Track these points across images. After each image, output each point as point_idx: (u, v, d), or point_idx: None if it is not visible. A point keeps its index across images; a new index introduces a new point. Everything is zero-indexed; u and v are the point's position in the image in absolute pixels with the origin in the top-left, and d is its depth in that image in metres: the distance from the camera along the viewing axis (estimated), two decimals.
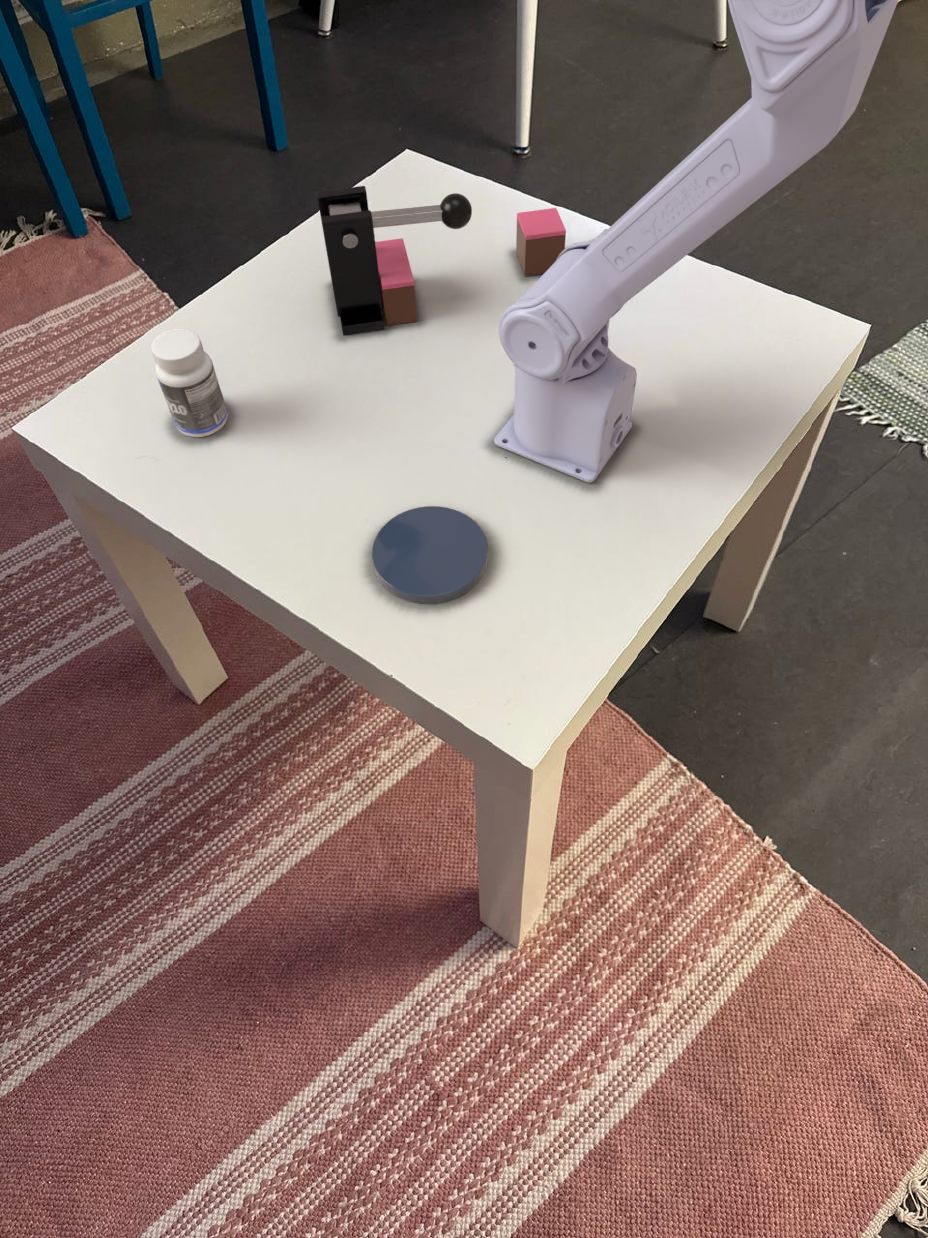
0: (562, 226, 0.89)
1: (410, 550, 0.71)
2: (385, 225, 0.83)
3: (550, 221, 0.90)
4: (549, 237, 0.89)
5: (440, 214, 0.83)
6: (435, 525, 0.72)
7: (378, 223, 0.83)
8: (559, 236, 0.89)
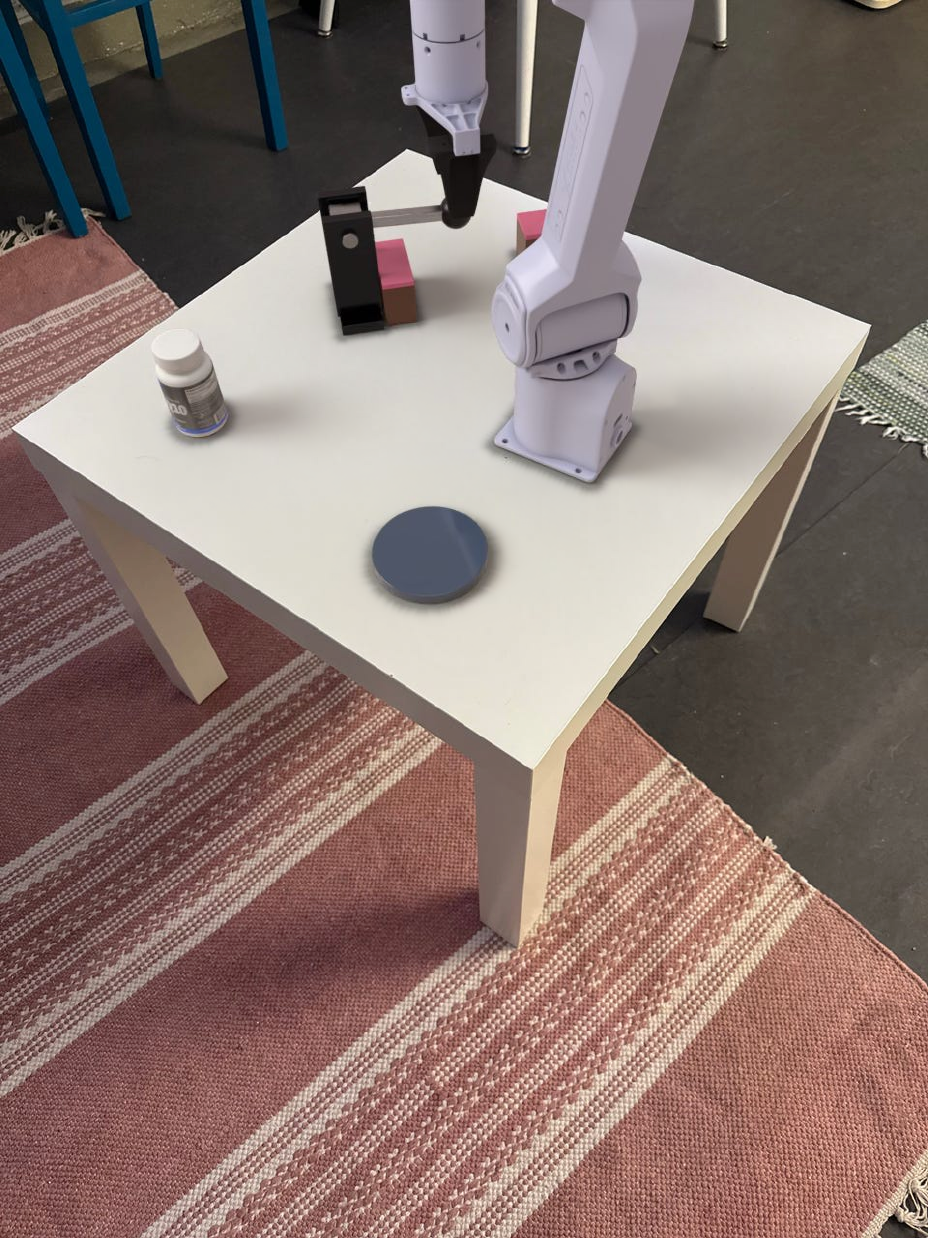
0: None
1: (410, 550, 0.71)
2: (385, 225, 0.83)
3: None
4: None
5: (440, 214, 0.83)
6: (435, 525, 0.72)
7: (378, 223, 0.83)
8: None
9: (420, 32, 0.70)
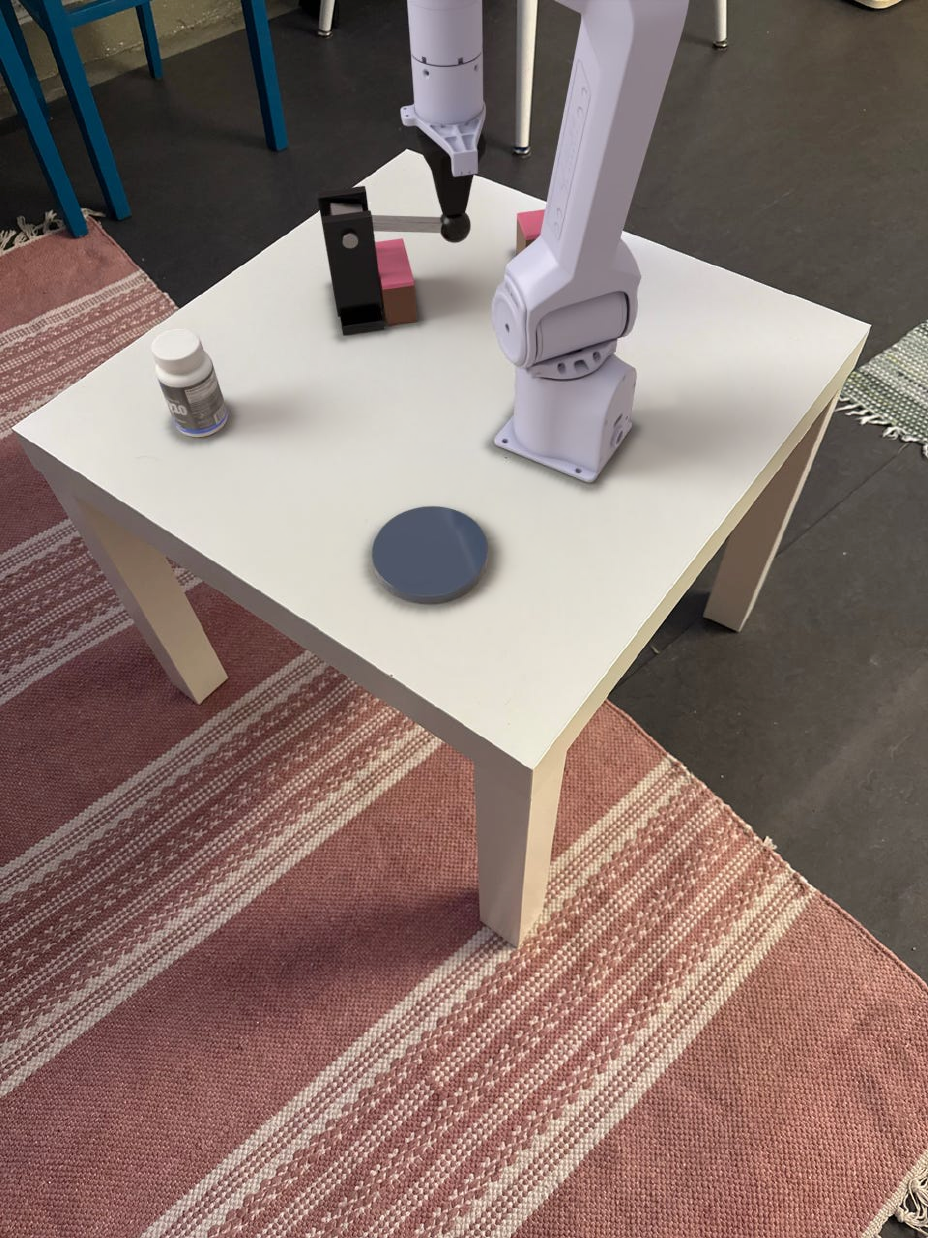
0: None
1: (410, 550, 0.71)
2: (384, 230, 0.83)
3: None
4: None
5: (440, 226, 0.84)
6: (435, 525, 0.72)
7: (378, 227, 0.83)
8: None
9: (419, 56, 0.71)
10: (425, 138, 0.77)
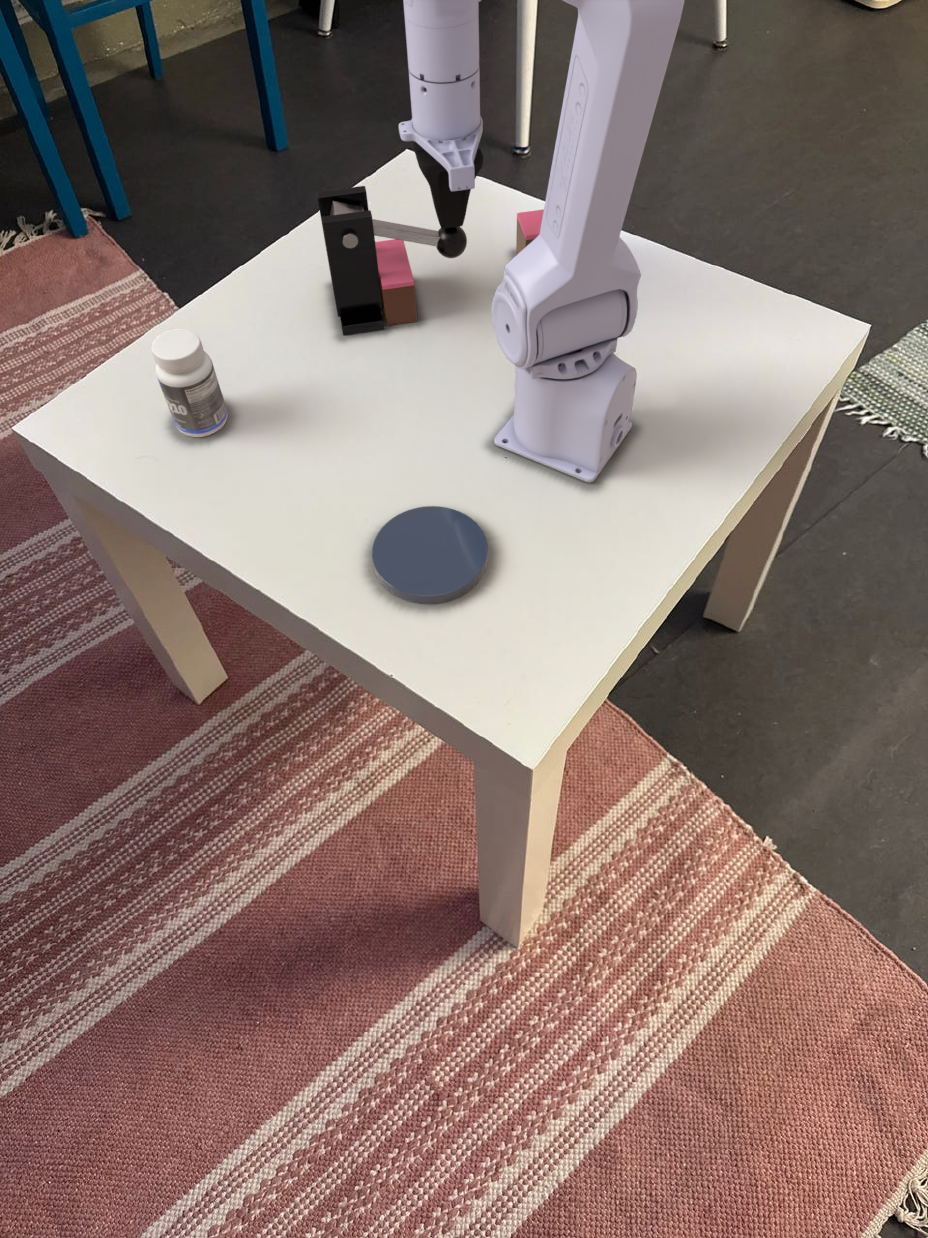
0: None
1: (410, 550, 0.71)
2: (383, 235, 0.84)
3: None
4: None
5: (437, 239, 0.85)
6: (435, 525, 0.72)
7: (377, 232, 0.83)
8: None
9: (417, 73, 0.72)
10: (423, 153, 0.78)
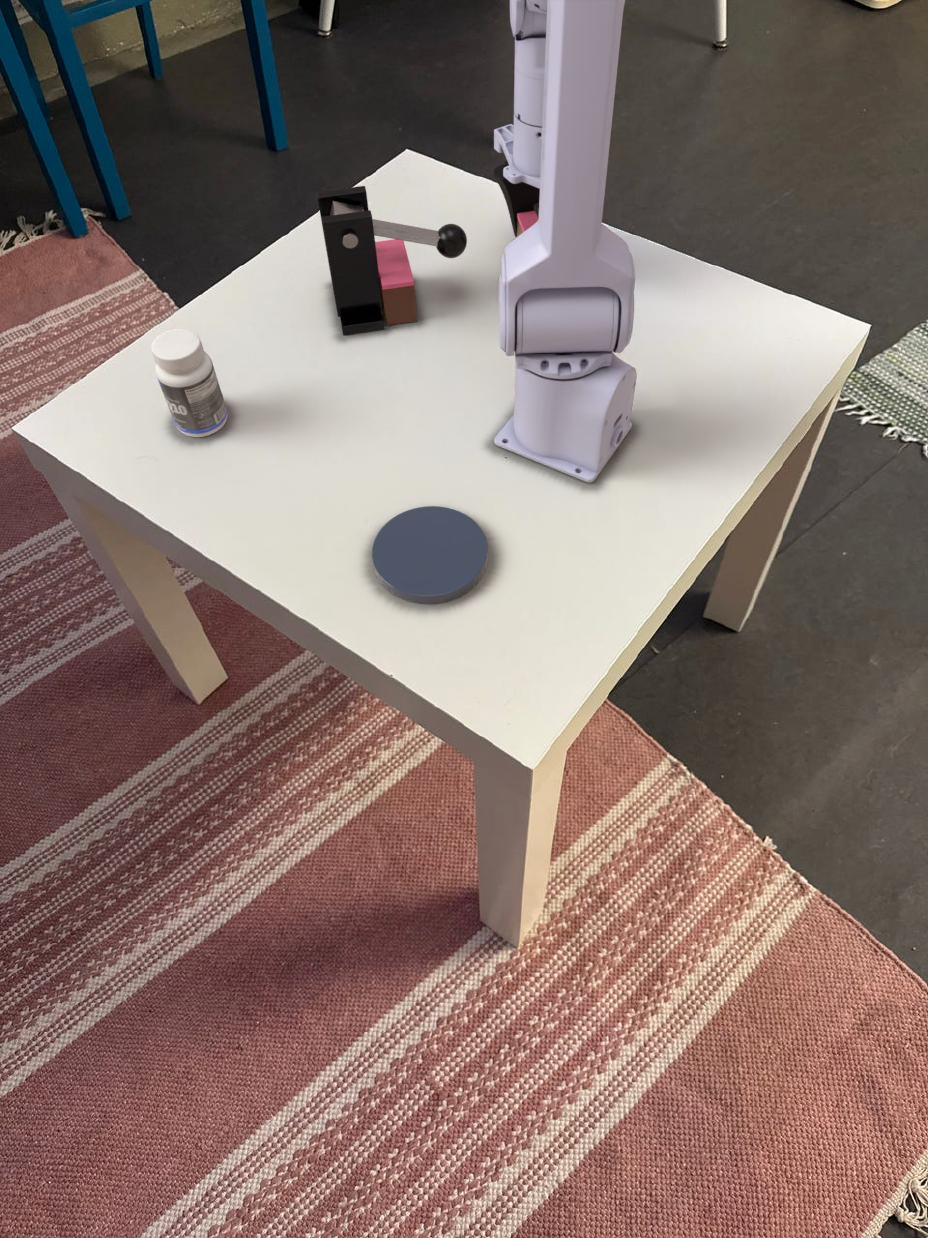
0: None
1: (410, 550, 0.71)
2: (383, 235, 0.84)
3: None
4: None
5: (437, 239, 0.85)
6: (435, 525, 0.72)
7: (377, 232, 0.83)
8: None
9: (516, 112, 0.80)
10: None
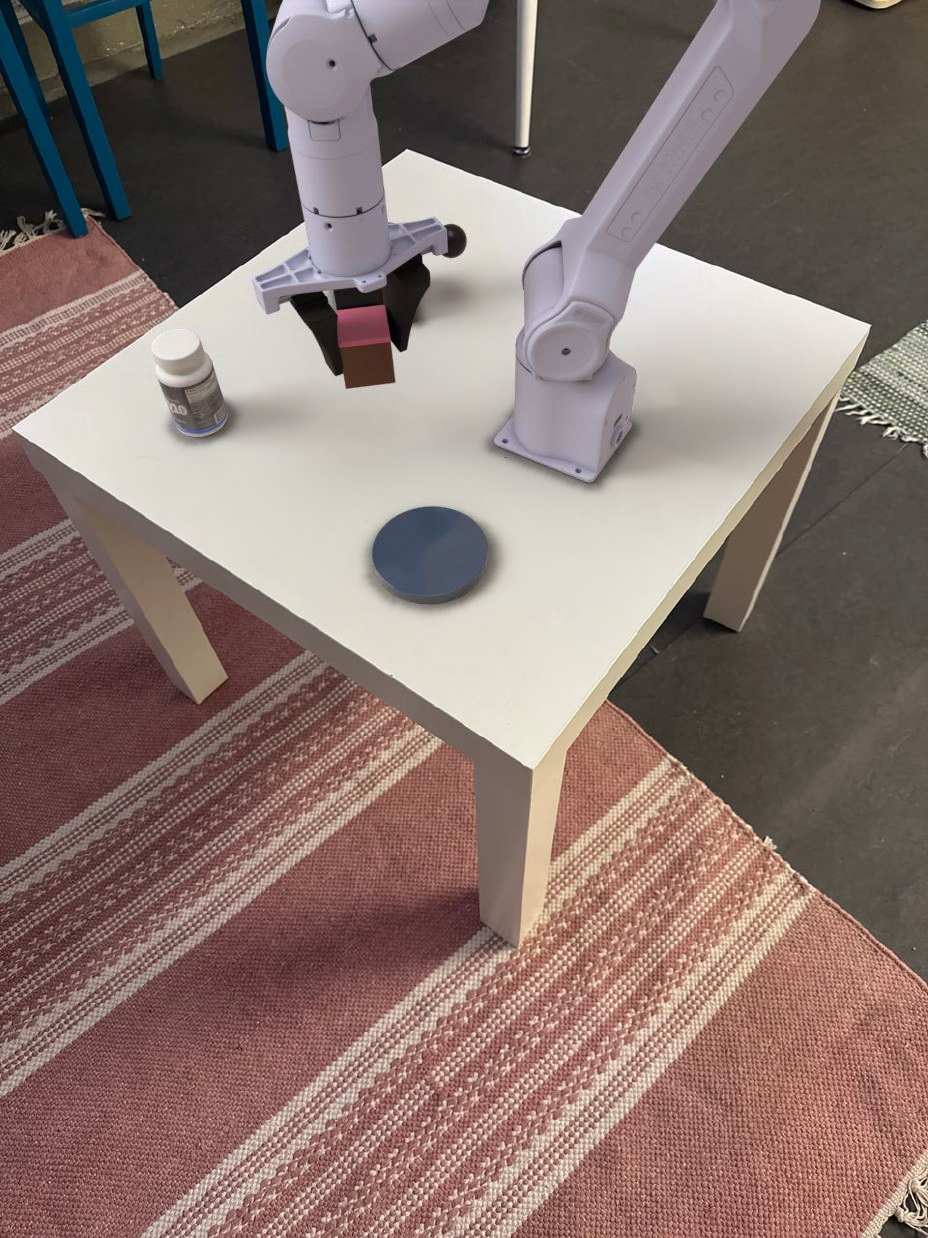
0: (377, 306, 0.72)
1: (410, 550, 0.71)
2: None
3: (364, 316, 0.71)
4: None
5: None
6: (435, 525, 0.72)
7: None
8: None
9: (352, 210, 0.60)
10: (405, 280, 0.67)
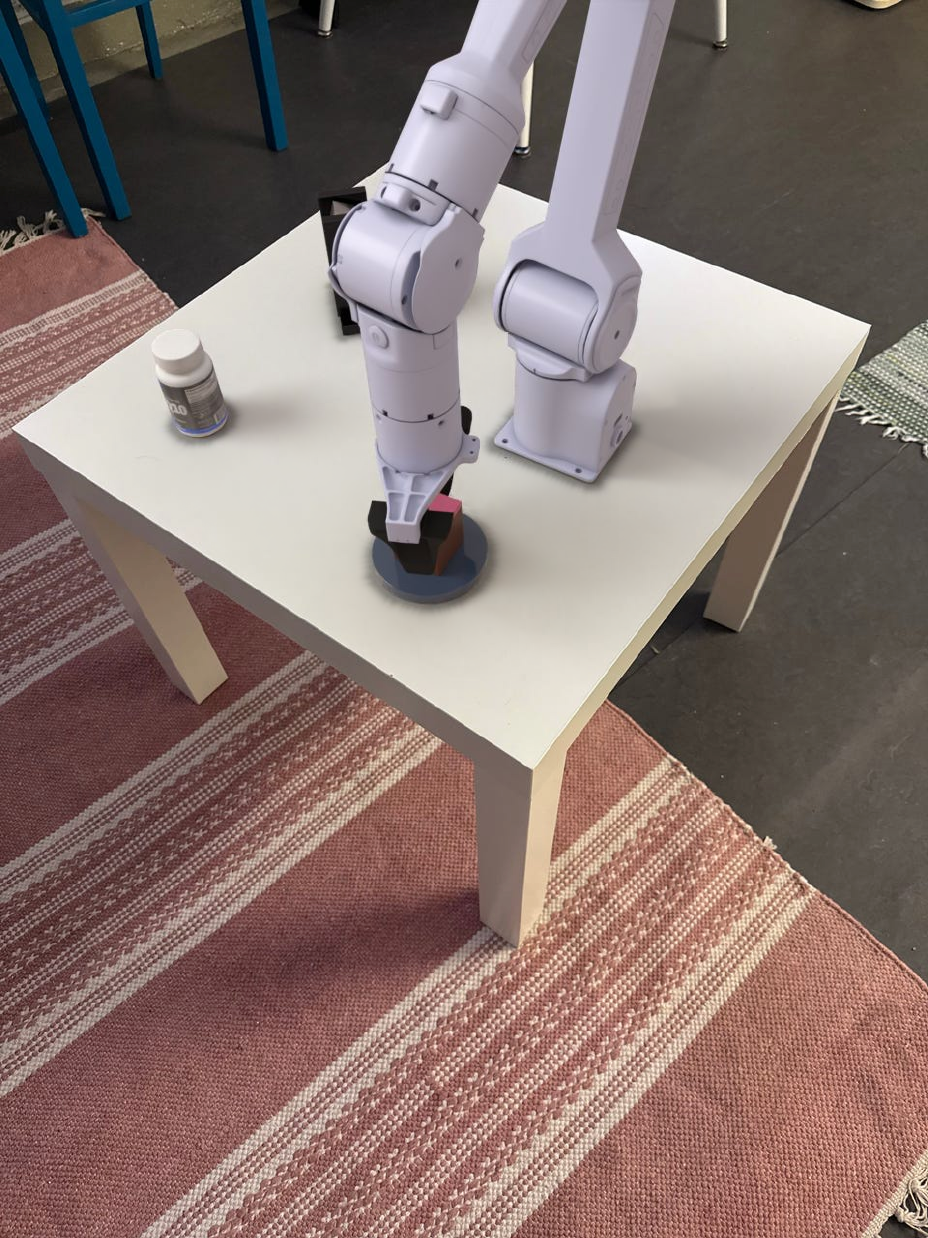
0: None
1: None
2: None
3: None
4: None
5: None
6: None
7: None
8: None
9: (457, 394, 0.57)
10: (461, 425, 0.65)
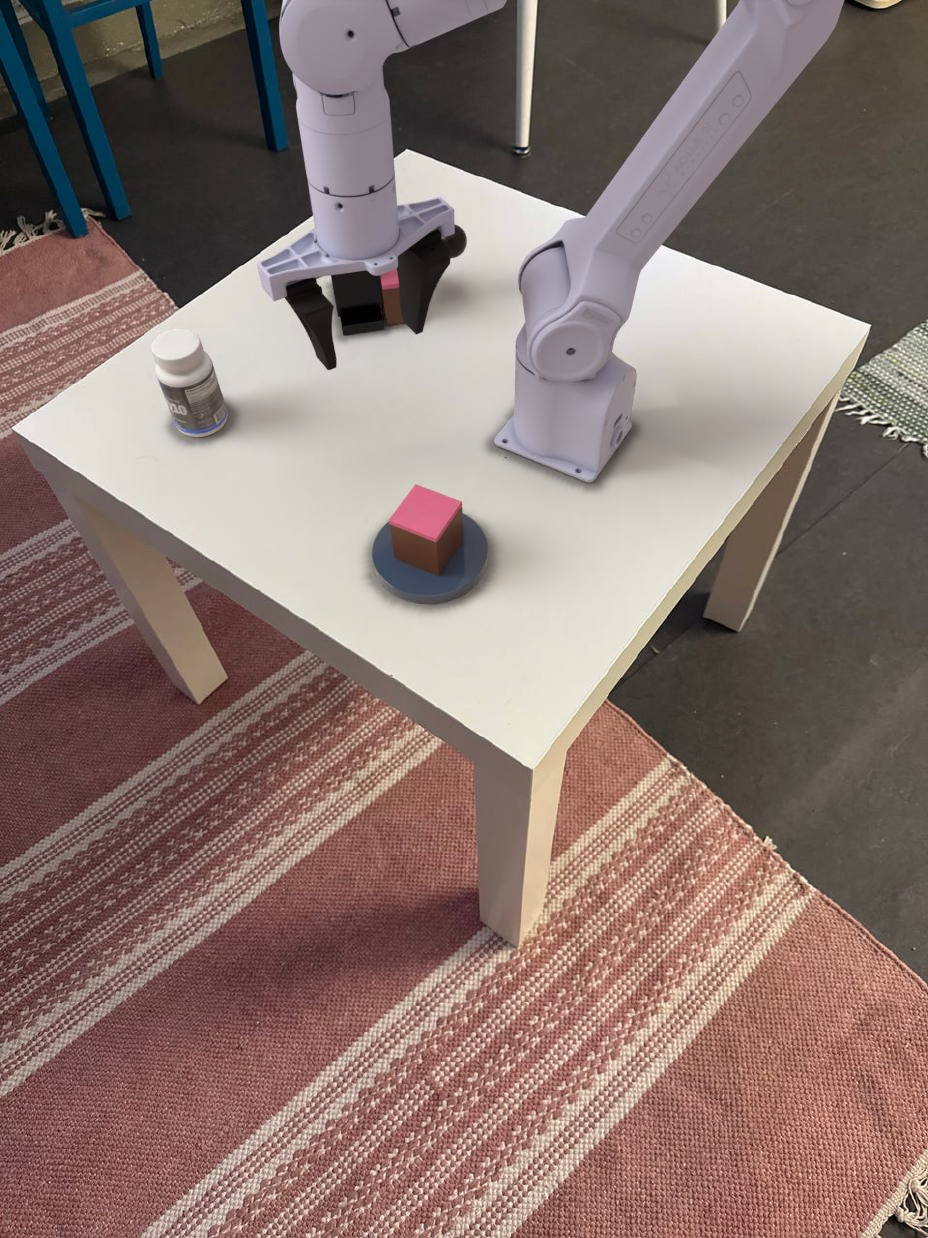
0: (413, 490, 0.69)
1: None
2: None
3: (416, 504, 0.68)
4: None
5: None
6: None
7: None
8: None
9: (364, 188, 0.58)
10: (425, 258, 0.65)
